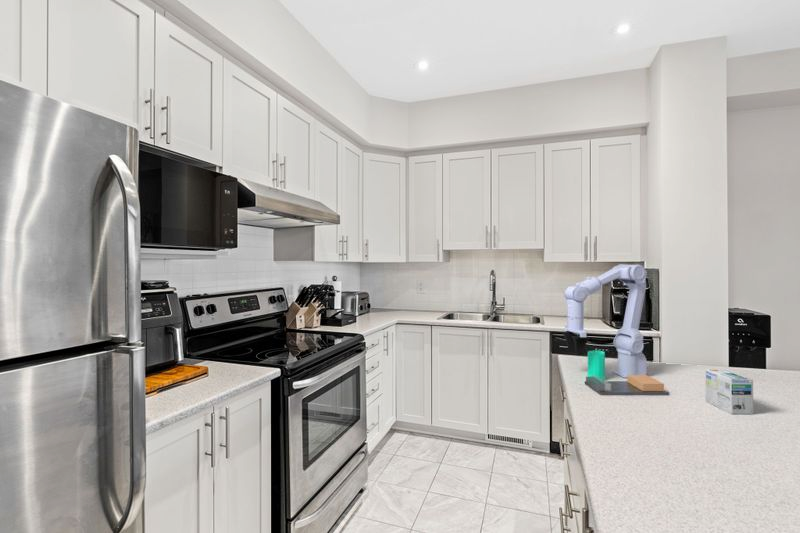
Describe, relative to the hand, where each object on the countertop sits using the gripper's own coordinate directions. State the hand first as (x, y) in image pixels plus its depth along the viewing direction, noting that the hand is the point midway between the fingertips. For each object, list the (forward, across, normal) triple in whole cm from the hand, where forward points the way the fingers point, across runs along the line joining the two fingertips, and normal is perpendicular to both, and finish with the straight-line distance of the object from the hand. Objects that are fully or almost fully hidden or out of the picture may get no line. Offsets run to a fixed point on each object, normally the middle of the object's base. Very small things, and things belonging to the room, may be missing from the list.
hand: (575, 352), depth 152 cm
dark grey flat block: (+10, +12, +12) cm, 20 cm away
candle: (+11, 0, +8) cm, 13 cm away
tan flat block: (+9, +12, +19) cm, 25 cm away
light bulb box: (+11, +29, +35) cm, 47 cm away
